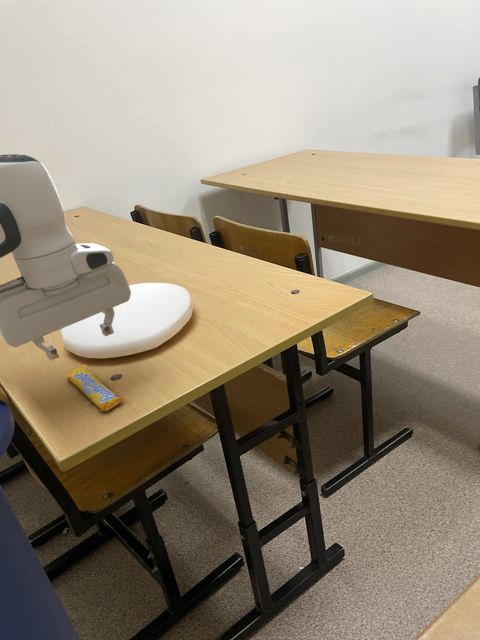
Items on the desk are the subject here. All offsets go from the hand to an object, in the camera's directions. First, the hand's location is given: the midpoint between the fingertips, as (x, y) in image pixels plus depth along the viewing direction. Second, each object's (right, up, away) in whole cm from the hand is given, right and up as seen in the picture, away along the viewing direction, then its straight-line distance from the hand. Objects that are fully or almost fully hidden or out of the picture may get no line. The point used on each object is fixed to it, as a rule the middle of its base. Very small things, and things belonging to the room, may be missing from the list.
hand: (81, 345), depth 86 cm
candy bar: (+1, -8, +4) cm, 9 cm away
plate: (+2, +3, +24) cm, 24 cm away
